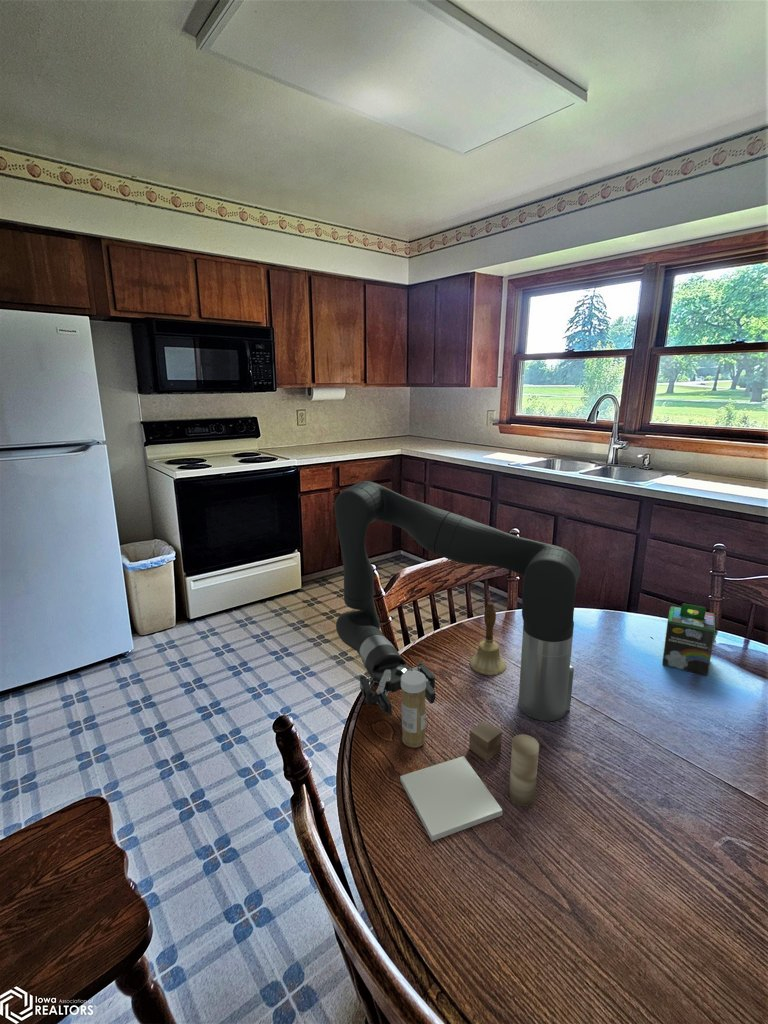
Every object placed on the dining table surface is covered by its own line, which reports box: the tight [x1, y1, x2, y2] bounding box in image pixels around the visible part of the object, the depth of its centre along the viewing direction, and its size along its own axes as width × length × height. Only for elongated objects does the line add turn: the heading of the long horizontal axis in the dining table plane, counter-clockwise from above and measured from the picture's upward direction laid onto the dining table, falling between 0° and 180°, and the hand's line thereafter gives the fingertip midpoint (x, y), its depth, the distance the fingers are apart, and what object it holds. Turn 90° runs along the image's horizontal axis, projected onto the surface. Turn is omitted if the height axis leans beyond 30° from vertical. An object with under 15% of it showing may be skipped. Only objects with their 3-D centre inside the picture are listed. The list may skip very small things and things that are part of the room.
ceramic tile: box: [399, 755, 504, 842], centre depth 79 cm, size 12×12×1 cm
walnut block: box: [468, 720, 503, 762], centre depth 89 cm, size 4×4×4 cm
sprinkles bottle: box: [401, 671, 427, 749], centre depth 90 cm, size 5×5×14 cm
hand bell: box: [469, 601, 507, 676], centre depth 113 cm, size 8×8×16 cm
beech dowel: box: [508, 733, 540, 807], centre depth 78 cm, size 4×4×10 cm
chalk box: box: [662, 603, 716, 677], centre depth 113 cm, size 9×9×15 cm
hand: (411, 704), depth 91 cm, fingers open, 8 cm apart
